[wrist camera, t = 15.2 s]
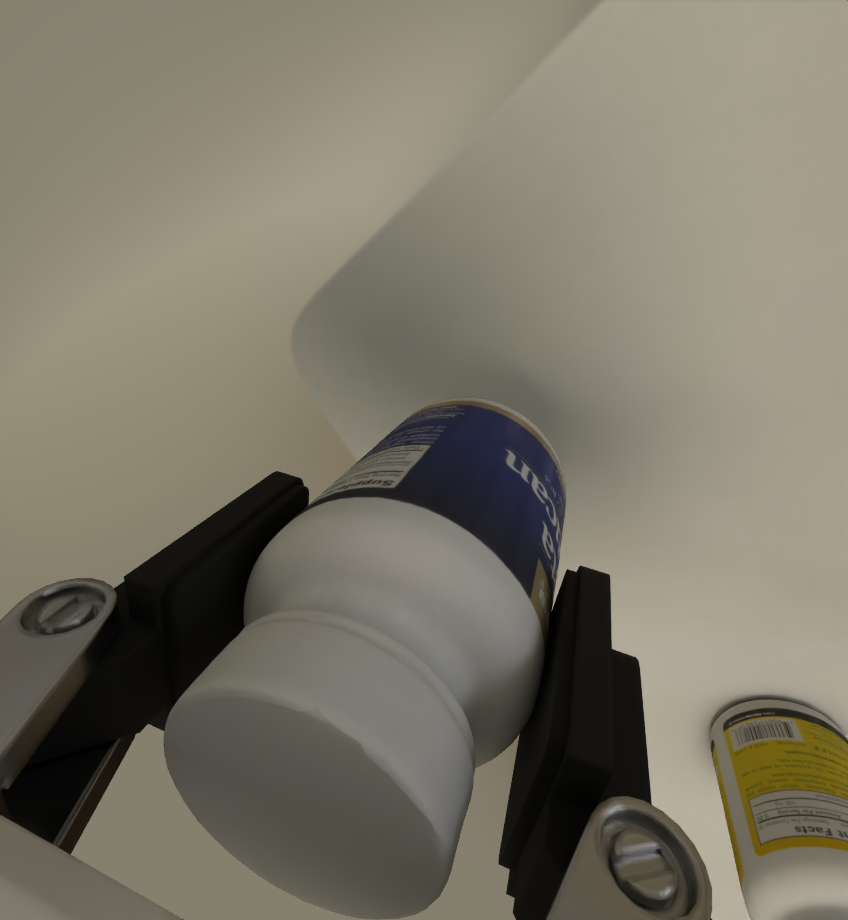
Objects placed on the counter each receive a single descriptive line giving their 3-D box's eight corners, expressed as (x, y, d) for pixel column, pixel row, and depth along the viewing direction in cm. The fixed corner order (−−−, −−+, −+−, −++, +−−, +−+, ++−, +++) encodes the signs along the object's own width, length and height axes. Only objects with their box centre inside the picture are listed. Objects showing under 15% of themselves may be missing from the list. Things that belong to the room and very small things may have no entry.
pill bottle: (601, 529, 14) (600, 988, 5) (441, 577, 16) (267, 944, 8) (514, 357, 13) (339, 587, 4) (357, 437, 15) (47, 684, 7)
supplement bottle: (804, 803, 23) (918, 1123, 15) (687, 748, 24) (729, 1017, 16) (880, 732, 21) (1069, 1066, 12) (745, 675, 22) (833, 945, 13)
